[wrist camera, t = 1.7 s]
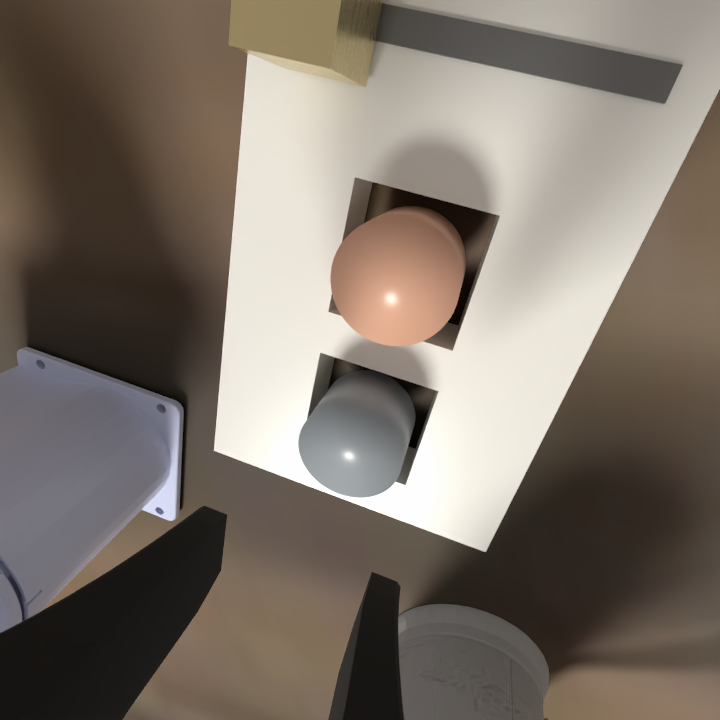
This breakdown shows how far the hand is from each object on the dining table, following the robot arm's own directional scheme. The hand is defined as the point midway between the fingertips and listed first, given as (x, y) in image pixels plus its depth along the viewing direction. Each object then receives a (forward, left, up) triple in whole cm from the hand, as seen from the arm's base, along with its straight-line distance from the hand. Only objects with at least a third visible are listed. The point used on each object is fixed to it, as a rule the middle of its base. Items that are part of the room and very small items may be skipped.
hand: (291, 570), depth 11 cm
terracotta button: (0, +6, -8) cm, 10 cm away
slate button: (0, 0, -8) cm, 8 cm away
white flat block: (0, +6, -9) cm, 11 cm away
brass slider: (-3, +12, -7) cm, 14 cm away
